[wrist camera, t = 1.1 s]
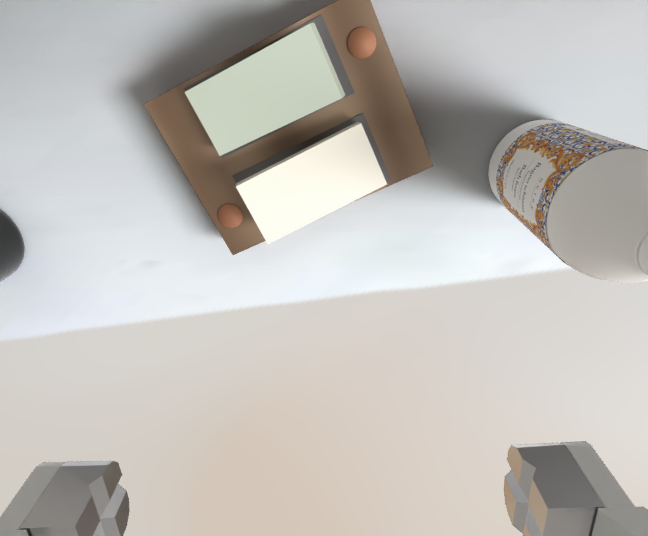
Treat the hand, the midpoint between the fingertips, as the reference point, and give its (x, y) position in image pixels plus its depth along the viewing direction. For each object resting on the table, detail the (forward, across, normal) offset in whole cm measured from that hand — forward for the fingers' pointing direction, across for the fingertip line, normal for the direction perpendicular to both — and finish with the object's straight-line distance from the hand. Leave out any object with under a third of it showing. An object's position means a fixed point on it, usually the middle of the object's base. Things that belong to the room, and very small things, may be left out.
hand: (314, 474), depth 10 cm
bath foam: (+29, -16, 0) cm, 33 cm away
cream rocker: (+25, 0, 0) cm, 25 cm away
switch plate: (+29, +2, -4) cm, 29 cm away
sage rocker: (+25, +3, -6) cm, 26 cm away
